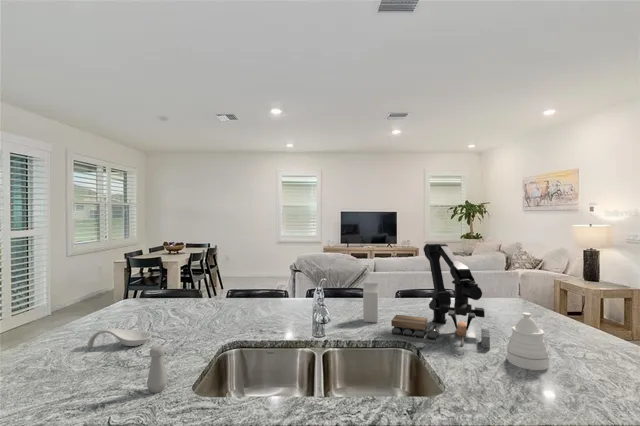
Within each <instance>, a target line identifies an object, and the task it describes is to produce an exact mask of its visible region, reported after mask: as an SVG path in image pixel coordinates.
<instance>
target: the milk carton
mask: <svg viewBox="0 0 640 426" xmlns="http://www.w3.org/2000/svg"><path fill="white" fill-rule="evenodd" d="M362 294H363V295H362V296H363V297H362V298H363V302H362V303H363V304H362V305H363V306H362V307H363V309H362V311H363V316H362V317H363V322H364V323H376V324H377V323H379V284H378V283H377V282H375V283H374V282H363V290H362Z"/></svg>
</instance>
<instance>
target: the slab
mask: <svg viewBox="0 0 640 426" xmlns="http://www.w3.org/2000/svg"><path fill="white" fill-rule="evenodd" d="M390 323H391V327H394V326H395V327H403V328H410V329H418V330H425V328H426V326H427V325H428V317H420V316H413V315H412V316H411V315H405V314H395V316H394V317H392V319H391V322H390ZM427 327H428V326H427Z"/></svg>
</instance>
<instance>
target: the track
mask: <svg viewBox="0 0 640 426" xmlns="http://www.w3.org/2000/svg"><path fill="white" fill-rule="evenodd" d="M440 333H441V332H440V329H439V327H438V326H437V325H431V326H430V327H429V330H428V326H426V328H425V330H418V329H410V328H403V327H395V326H393V328H392V330H391V334H390V338H393V337H394V339H402V340H407V341H414V342H415V341H416V342H423V343H430V344H437V339H438V337H439V335H440ZM413 335H414V336H413ZM425 336H426V338H425ZM450 339H451V333H447V337H446V340H445V344H446V345H449V342H450ZM460 344H461V345H460V347H464V344H465V336H462V337H461V342H460Z"/></svg>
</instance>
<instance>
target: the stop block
mask: <svg viewBox="0 0 640 426" xmlns="http://www.w3.org/2000/svg"><path fill="white" fill-rule="evenodd" d="M480 331H481V332H480V333H481V335H480V336H481V337H480V338H481V350H486V351H491V339H490V338H491V336H490V335H491V334H490V329H486V328H485V329H484V328H481V329H480Z"/></svg>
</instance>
